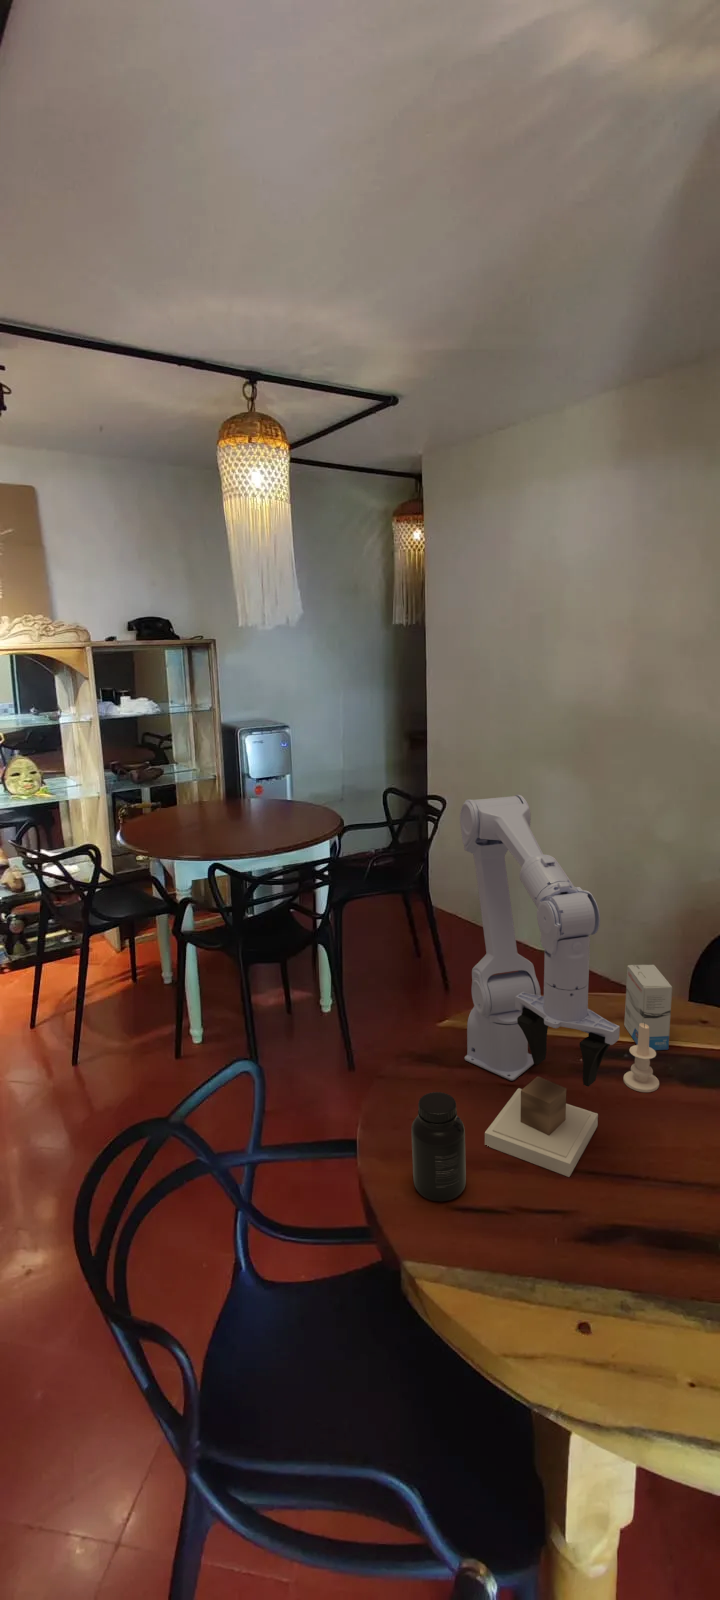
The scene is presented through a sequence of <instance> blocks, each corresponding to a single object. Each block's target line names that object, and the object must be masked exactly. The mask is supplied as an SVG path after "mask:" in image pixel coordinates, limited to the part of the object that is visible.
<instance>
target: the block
mask: <svg viewBox="0 0 720 1600" xmlns="http://www.w3.org/2000/svg"><path fill="white" fill-rule="evenodd" d="M521 1089H522V1090H521V1120H520V1122H521V1123H524V1124H526V1125H528V1126H530V1127H532V1128H534V1129H536V1130H538V1131H540V1132H542V1133H544V1134H546V1135H548V1136H549V1135H550V1134H551V1133H552V1132H554V1131H555V1130H556V1129H557V1128H558V1127H559V1126H560V1125H561V1124H562V1123H563V1122H564V1121H565V1120H566V1104H567V1087H564V1086H562V1085H560V1084H557V1083H555V1082H552V1081H550V1080H548V1079H545V1078H544V1077H541V1076H539V1075H538V1076H536V1077H534V1079H533V1080H532V1081H531V1082H529V1083H528V1084H526V1086H524V1087H523V1088H521Z"/></svg>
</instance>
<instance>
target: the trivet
mask: <svg viewBox="0 0 720 1600" xmlns="http://www.w3.org/2000/svg"><path fill="white" fill-rule="evenodd" d="M522 1089H523V1088H520V1087H518V1088H517V1089H516V1091H515V1092H514V1093H513V1095H512V1096H511V1097H510V1099H509V1100H508V1101H507V1102H506V1104H505V1105H504V1107H503V1108H502V1109H501V1110H500V1112H499V1113H498V1115H497V1116H496V1117H495V1118H494V1120H493V1121H492V1122H491V1124H490V1125H489V1126H488V1128H487V1129H486V1130H485V1132H484V1146H485V1145H487V1146H486V1147H488V1146H489V1147H488V1148H491V1149H494V1150H497V1151H499V1152H501V1153H504V1154H507V1155H509V1156H511V1157H515V1158H517V1159H520V1160H523V1161H525V1162H528V1163H531V1164H534V1165H536V1166H539V1167H541V1168H544V1169H547V1170H549V1171H552V1172H555V1173H557V1174H560V1175H563V1176H566V1177H568V1178H570V1176H571V1175H572V1173H573V1172H574V1171H575V1168H576V1166H577V1164H578V1163H579V1160H580V1159H581V1158H582V1156H583V1154H584V1152H585V1150H586V1148H587V1146H588V1144H589V1143H590V1141H591V1139H592V1137H593V1135H594V1133H595V1131H596V1130H597V1128H598V1125H599V1124H598V1121H599V1119H598V1118H599V1113H597V1112H594V1111H591V1110H587V1109H585V1108H582V1107H578V1106H575V1105H572V1104H569V1103H566V1120H565V1121H564V1122H563V1123H562V1124H561V1125H560V1126H559V1127H558V1128H557V1129H556V1130H555V1131H554V1132H552V1133H551V1134H550V1135H549V1136H548V1135H546V1134H544V1133H542V1132H540V1131H538V1130H536V1129H534V1128H532V1127H530V1126H528V1125H526V1124H524V1123H521V1122H520V1120H521V1090H522Z"/></svg>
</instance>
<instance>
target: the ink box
mask: <svg viewBox="0 0 720 1600" xmlns="http://www.w3.org/2000/svg"><path fill="white" fill-rule="evenodd" d="M626 970H627V971H626V986H625V987H626V988H625V1005H624V1006H625V1007H624V1027H625V1029H626V1030H627V1032H628V1033H629V1035H630V1036H631V1038H632V1039H633V1041H634V1043H635V1044H636V1045H638V1033H639V1024H640V1023H644V1022H645V1024H646V1025H648V1026H649V1047H650V1048H652V1049H654V1050H655V1051H663V1050H664V1051H665V1050H669V1048H670V1047H669V1046H670V1044H669V1043H670V1030H671V1029H670V1028H671V1013H672V1012H671V1011H672V1009H671V1008H672V997H673V995H672V994H673V986H672V985H671V984H670V982H669V981H668V979H666V977H665V976H664V975H663V973H662V972H661V971H660V970H659V968H657V967H656V965H655V964H628V965H627V969H626Z"/></svg>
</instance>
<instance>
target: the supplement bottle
mask: <svg viewBox="0 0 720 1600" xmlns="http://www.w3.org/2000/svg"><path fill="white" fill-rule="evenodd" d="M417 1110H418V1111H417V1116H416V1117H415V1118H414V1119H413V1122H412V1123H411V1150H412V1152H411V1153H412V1154H411V1157H412V1176H413V1185H414V1188H415V1190H416V1191H417V1192H418V1194H420V1195H421V1196H422V1197H424V1198H425V1199H426V1200H427V1199H428V1200H430V1201H434V1202H448V1201H451V1200H453V1199H456V1198H457V1197H459V1196H460V1195H461V1194H462V1192H463V1191H464V1190H465V1188H466V1184H467V1183H466V1181H467V1178H466V1177H467V1171H466V1170H467V1169H466V1130H465V1126H464V1125H465V1124H464V1123H463V1120H462V1119H461V1118H460V1117H459V1116H458V1110H457V1101H456V1100H455V1098H454V1097H453V1096H451V1095H450V1094H448V1093H445V1092H441V1091H436V1092H435V1091H434V1092H433V1091H432V1092H429V1093H425V1094H424V1095H423V1096H421V1097H420V1098H419V1100H418V1109H417Z"/></svg>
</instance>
